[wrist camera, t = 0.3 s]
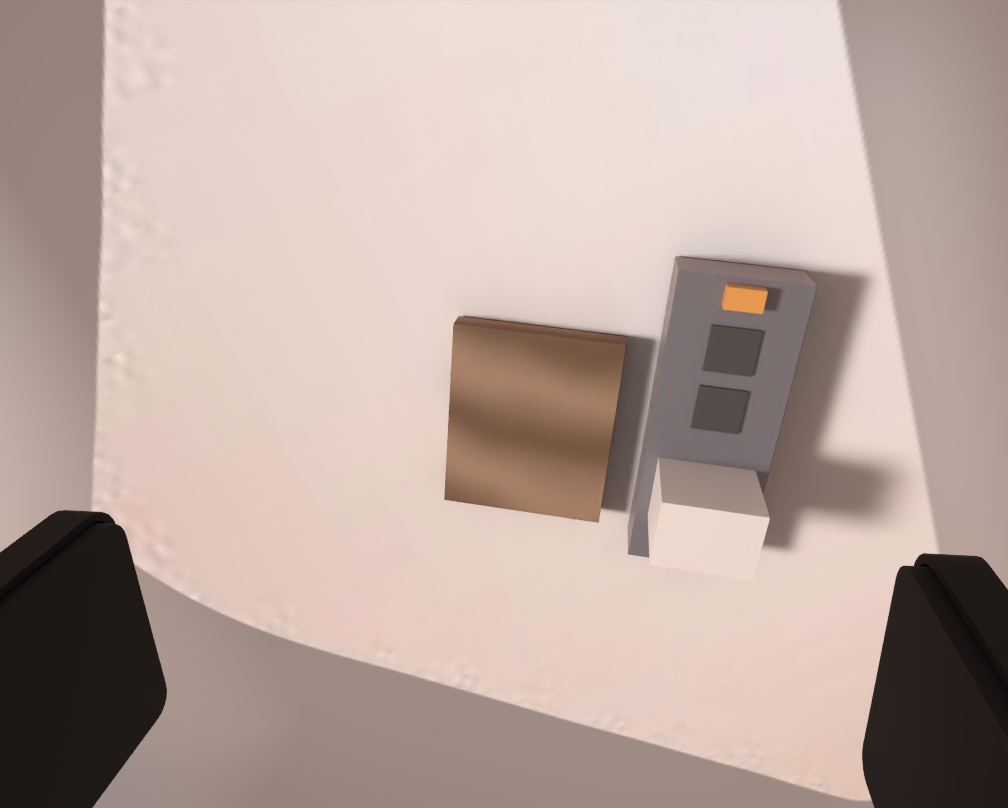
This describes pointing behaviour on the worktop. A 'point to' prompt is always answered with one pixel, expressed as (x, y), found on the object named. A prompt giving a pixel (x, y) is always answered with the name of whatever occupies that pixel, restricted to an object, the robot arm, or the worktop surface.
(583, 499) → the pad
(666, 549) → the block
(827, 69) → the worktop surface
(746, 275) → the power strip
